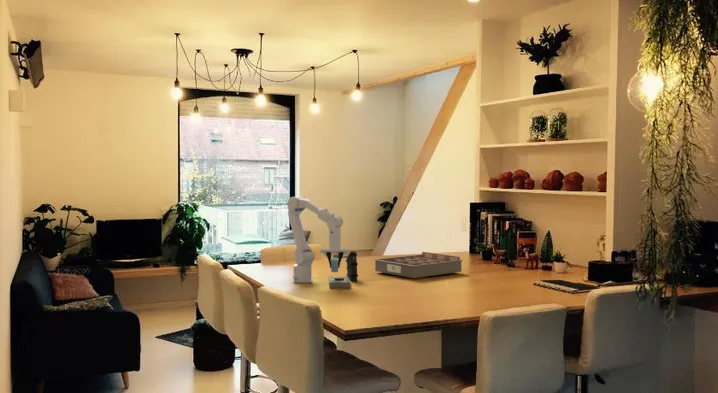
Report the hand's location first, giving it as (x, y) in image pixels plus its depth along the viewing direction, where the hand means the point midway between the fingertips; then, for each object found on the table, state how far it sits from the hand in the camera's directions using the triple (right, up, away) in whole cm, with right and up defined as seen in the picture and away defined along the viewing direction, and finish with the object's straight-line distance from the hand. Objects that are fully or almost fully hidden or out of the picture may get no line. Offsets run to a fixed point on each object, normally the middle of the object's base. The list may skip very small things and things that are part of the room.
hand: (334, 267), depth 303 cm
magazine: (+8, -9, +19) cm, 22 cm away
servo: (0, -2, 0) cm, 2 cm away
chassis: (+2, -9, +1) cm, 9 cm away
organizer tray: (+46, -9, +42) cm, 63 cm away
